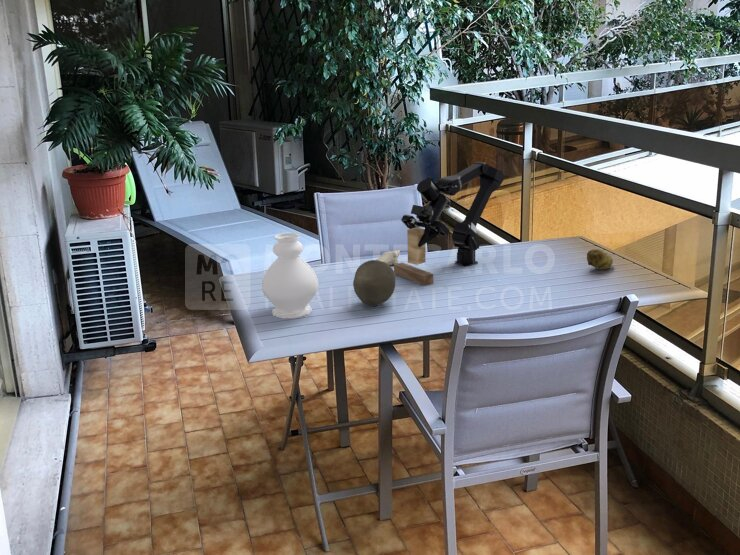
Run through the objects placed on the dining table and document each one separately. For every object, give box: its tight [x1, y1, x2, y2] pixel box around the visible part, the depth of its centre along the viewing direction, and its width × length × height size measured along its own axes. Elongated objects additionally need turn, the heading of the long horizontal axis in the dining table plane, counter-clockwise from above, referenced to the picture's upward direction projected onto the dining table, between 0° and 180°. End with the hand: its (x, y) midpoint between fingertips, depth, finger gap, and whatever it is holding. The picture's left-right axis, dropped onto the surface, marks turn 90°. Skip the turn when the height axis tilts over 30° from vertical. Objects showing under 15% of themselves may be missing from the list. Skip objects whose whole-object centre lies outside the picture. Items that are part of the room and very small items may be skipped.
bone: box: [375, 249, 401, 266], centre depth 277 cm, size 8×21×6 cm, turn 146°
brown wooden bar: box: [393, 262, 434, 286], centre depth 265 cm, size 4×18×4 cm, turn 34°
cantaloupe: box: [352, 259, 397, 307], centre depth 237 cm, size 14×14×15 cm
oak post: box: [406, 227, 426, 266], centre depth 260 cm, size 4×4×12 cm
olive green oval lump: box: [586, 248, 614, 270], centre depth 269 cm, size 8×13×8 cm, turn 116°
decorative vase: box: [261, 232, 319, 320], centre depth 232 cm, size 18×18×25 cm
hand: (413, 245), depth 259 cm, fingers closed on oak post, 4 cm apart
